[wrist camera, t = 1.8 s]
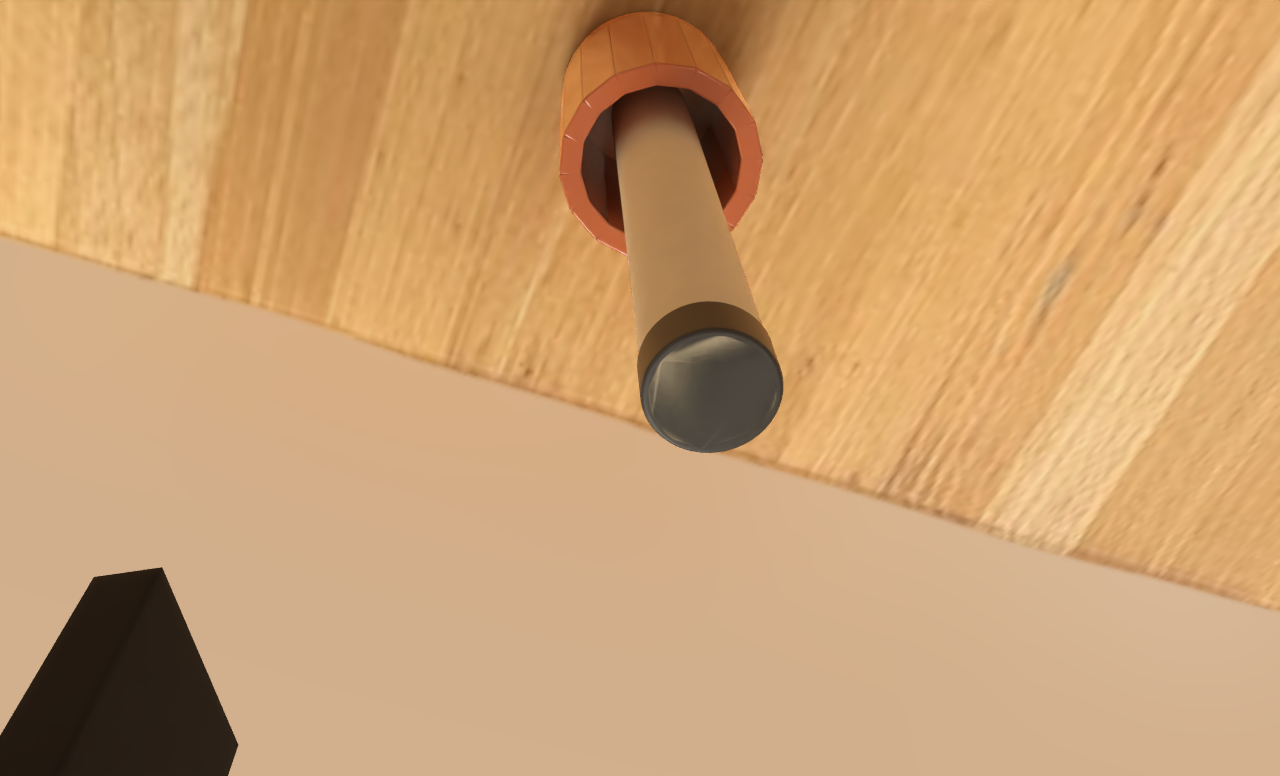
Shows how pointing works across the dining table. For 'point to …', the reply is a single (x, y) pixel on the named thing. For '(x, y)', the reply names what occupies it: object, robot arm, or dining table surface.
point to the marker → (688, 285)
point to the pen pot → (635, 61)
